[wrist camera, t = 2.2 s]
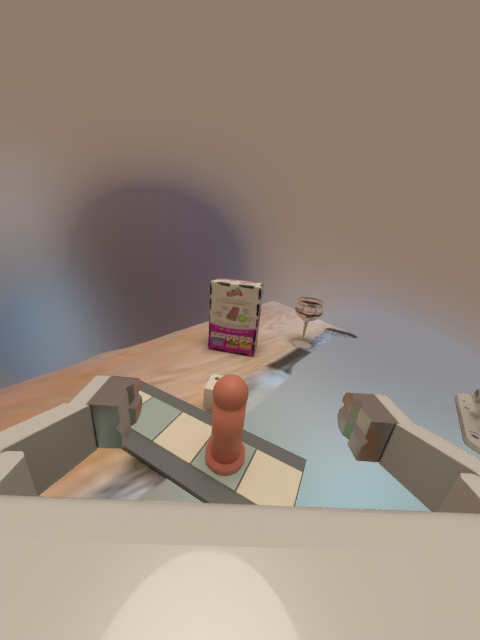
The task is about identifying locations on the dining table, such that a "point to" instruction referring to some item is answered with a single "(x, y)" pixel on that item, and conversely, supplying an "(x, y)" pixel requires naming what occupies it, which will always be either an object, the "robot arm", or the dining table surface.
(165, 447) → the track board
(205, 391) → the die
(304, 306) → the wineglass
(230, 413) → the pawn
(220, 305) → the candy bar box
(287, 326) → the dining table surface
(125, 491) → the dining table surface
